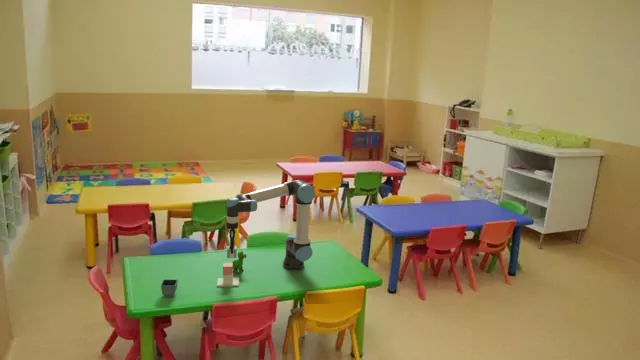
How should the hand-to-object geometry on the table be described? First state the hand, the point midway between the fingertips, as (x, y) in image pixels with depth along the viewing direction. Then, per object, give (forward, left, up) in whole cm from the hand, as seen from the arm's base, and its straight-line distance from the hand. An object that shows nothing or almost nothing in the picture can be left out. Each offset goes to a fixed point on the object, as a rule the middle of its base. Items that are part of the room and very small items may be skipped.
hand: (231, 255), depth 347 cm
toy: (-3, -20, -20) cm, 28 cm away
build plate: (+2, -1, -20) cm, 20 cm away
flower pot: (+37, +16, -20) cm, 45 cm away
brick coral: (+3, -1, -13) cm, 13 cm away
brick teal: (0, 0, 0) cm, 0 cm away
